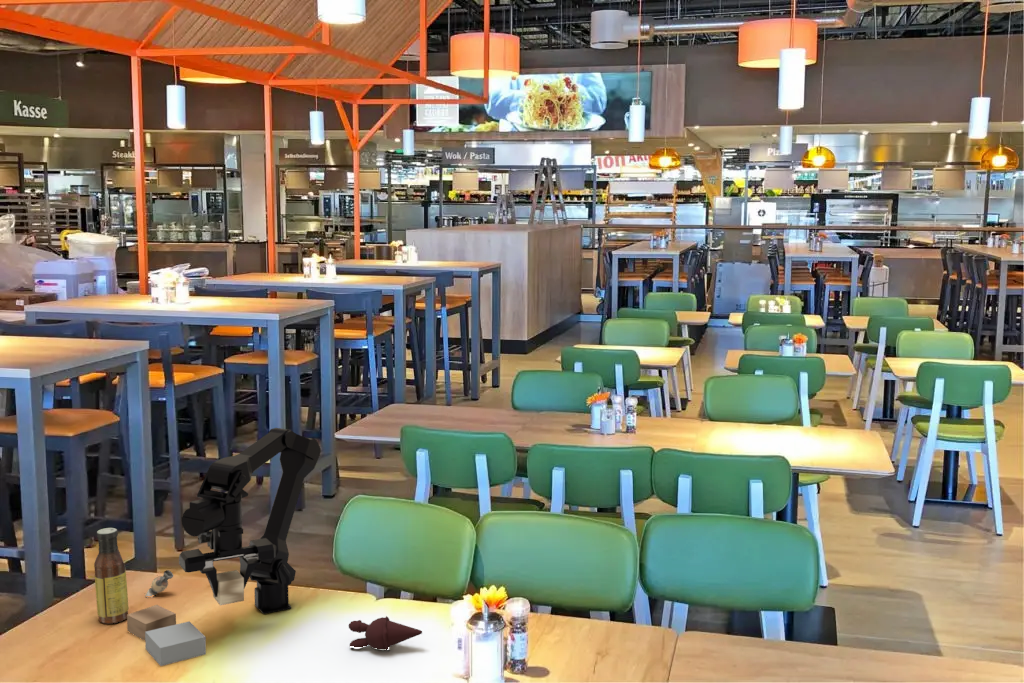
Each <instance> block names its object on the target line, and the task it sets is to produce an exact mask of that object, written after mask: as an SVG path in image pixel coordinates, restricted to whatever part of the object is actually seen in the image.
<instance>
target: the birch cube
mask: <svg viewBox="0 0 1024 683" xmlns="http://www.w3.org/2000/svg"><path fill="white" fill-rule="evenodd" d="M217 585H218V594H217V597H215V596H214V594H213V593H212V596H213V599H214V600H215V601H216V602H217V603H218V605H219V606H224V605H229V604H235V603H239V602H244V601H245V588H244V578H243V577H242V575H241V574H240V571H239V570H237V569H235V570H230V571H224V572H223V571H222V572H217Z"/></svg>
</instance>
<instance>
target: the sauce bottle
mask: <svg viewBox="0 0 1024 683" xmlns="http://www.w3.org/2000/svg"><path fill="white" fill-rule="evenodd" d="M118 536H119V535H118V529H117V528H114V527H106V528H100V529H99V530H97V531H96V537H97V541H98V554H97V555H96V558H95V559H94V564H93V565H94V566H93V567H94V583H95V584H94V586H95V588H94V589H95V597H96V598H95V599H96V610H97V616H98V621H99V622H100V623H103V624H107V625H110V624H111V625H112V624H113V623H114V624H118V622H119V623H120V622H123V620H127V614H129V595H128V580H127V571H126V570H127V569H126V565H125V562H124V560H123V558H122V555H121V553H120V550H119V547H118Z"/></svg>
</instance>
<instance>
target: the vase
mask: <svg viewBox="0 0 1024 683" xmlns="http://www.w3.org/2000/svg"><path fill="white" fill-rule="evenodd" d="M159 571H160V570H159ZM172 578H174V574H173V572H172V571H170V570H169V569H167V570H164V571H163V575H160V576H158V575H157V576H156V577H154V579H153V580H152V582H151V584H150V585H151V586H150V588H148V590H147V591H146V593H145V596H144V597H145V598H146V596H152V595H156V594H157V595H158V593H162V592H163V591H165V590H166V589H167V587H168V585H169V581H168V580H170V579H172ZM157 595H156V596H157Z"/></svg>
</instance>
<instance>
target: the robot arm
mask: <svg viewBox="0 0 1024 683" xmlns="http://www.w3.org/2000/svg"><path fill="white" fill-rule="evenodd" d="M321 453H322V450H321V446H320V444H319V442H318V440H317V439H315V438H310V437H306V436H302V435H300V434H298V433H297V432H294V431H293V430H291V429H287V428H280V427H274V428H271V429H269V431H268V432H267V433H266V434H265V435H264V436H262V437H260V438H259V439H258V440H256V441H255V442H253V444H251V445H249V446H248V447H246V448H245V449H244V450H242V451H240V453H237V454H236V455H231V456H225V457H222V458H221V459H218V460H216V461H213V462H212V463H211V464H210V466H208V469H207V472H206V474H205V475H204V478H203V481H202V483H201V485H200V487H199V490H198V491H197V494H196V497H197V498H198V500H192V501H190V502H189V503H188V505H189V508H187V509H185V511H184V512H183V514H182V517H181V525H182V528H183V529H184V531H185V533H187V534H188V535H189V536H191V537H197V542H198V544H207V545H206V546H207V547H209V549H210V550H211V551H210V552H206V553H203V552H202V551H201V550H200V549H199V548H196V549H190V550H184V551H181V552H180V554H179V556H178V565H179V566H180V568H181V569H182V570H183V571H184V572H185V573H194V572H200V574H203V575H204V574H205V576H206V578H207V580H208V583H209V585H210V588H211V589H210V590H211V591H212V595H213V594H214V596H215V597H217V594H218V585H217V573H218V572H217V568H216V567H215V566H214V562H219V561H224V560H230V559H231V560H232V559H235V558H238V559H239V564H240V565H239V566H240V567H239V573H240V574H241V575H242V577H243V578H244V589H245V588H246V586H247V584H248V582H249V579H250V581H255V582H256V587H254V606H255V607H256V608H257V610H259V611H260V612H261V614H263V615H267V614H271V613H277V612H280V611H287V610H290V609H292V606H291V604H290V603H289V586H290V585H292V582H294V581H295V578H296V573H297V572H296V569H295V568H294V567H292V566H291V564H289V562H288V560H289V556H290V552H289V549H288V544H287V538H288V534H289V531H290V527H291V524H292V520H293V517H294V513H295V510H296V507H297V504H298V501H299V497H300V493H301V490H302V486H303V484H304V480H305V478H306V477H307V476H308V475H309V474H310V473H311V472H312V471H313V470H314V469H315V467H316V465H317V463H318V461H319V458H320V455H321ZM278 454H280V455H279V463H280V467H281V470H282V473H281V477H280V481H279V483H278V485H277V486H278V487H277V490H276V494H275V497H274V500H273V503H272V506H271V510H270V513H269V516H268V520H267V523H266V526H265V529H264V532H263V534H262V536H261V537H260V538H258V539H252V540H251V539H250V541H249V544H248V545H249V546H248V545H247V546H243V534H244V528H243V523H242V522H243V519H242V517H243V516H242V511H243V509H242V499H244V498H246V497H248V496H249V493H248V492H247V491H246V490H244V488H245V487H246V486H247V485H248V484H249V483H250V482H251V480H252V476H253V475H252V474H253V473H254V472H255V471H257V470H258V469H259V468H260V467H262V466H263V465H265V464H266V463H267V462H269V461H270V460H272V459H273V458H274V457H275V456H277V455H278ZM212 489H214V490H212ZM222 491H224V492H222ZM199 498H200V499H199ZM212 550H213V551H212Z"/></svg>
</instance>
